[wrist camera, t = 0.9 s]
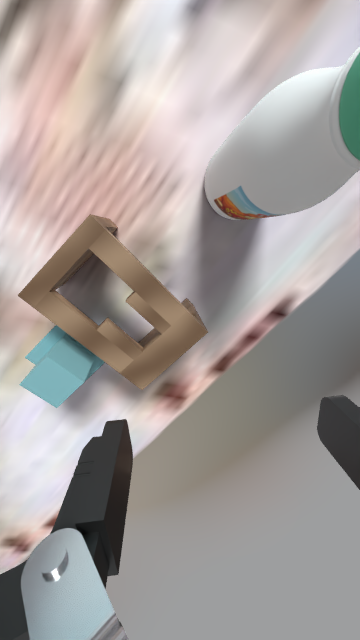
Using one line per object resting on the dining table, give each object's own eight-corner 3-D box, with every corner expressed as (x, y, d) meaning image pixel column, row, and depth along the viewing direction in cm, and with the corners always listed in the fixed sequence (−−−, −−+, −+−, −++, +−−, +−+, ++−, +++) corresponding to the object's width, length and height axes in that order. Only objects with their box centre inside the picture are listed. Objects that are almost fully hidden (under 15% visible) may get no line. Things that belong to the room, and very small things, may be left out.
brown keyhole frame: (57, 275, 28) (17, 295, 20) (109, 219, 26) (90, 214, 18) (144, 348, 33) (142, 390, 24) (192, 304, 31) (208, 332, 23)
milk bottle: (188, 182, 26) (282, 65, 7) (241, 122, 25) (520, -206, 6) (233, 234, 28) (386, 246, 10) (283, 183, 27) (570, 85, 9)
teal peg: (43, 338, 30) (-3, 385, 21) (77, 303, 29) (43, 337, 20) (85, 368, 33) (59, 422, 24) (117, 337, 32) (104, 381, 22)
